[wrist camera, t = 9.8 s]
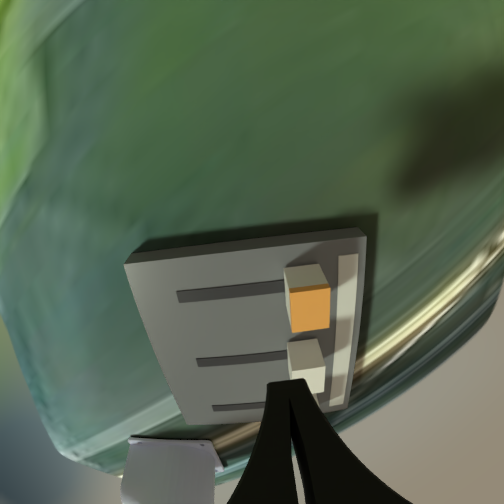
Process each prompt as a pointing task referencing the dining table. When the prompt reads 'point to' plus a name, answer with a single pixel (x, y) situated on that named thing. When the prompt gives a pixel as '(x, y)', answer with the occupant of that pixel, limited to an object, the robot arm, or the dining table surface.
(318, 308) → the switch
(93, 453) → the dining table surface
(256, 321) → the panel
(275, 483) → the robot arm
